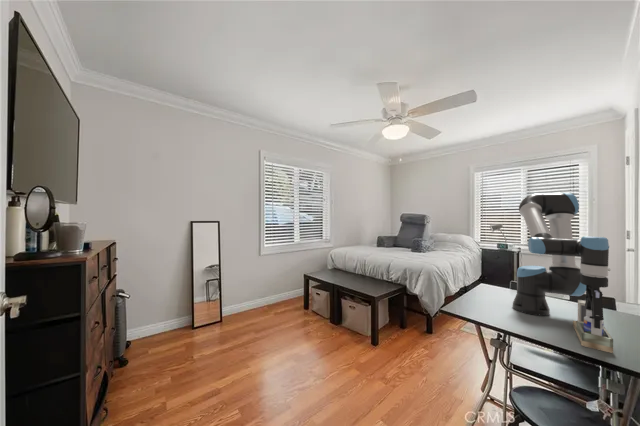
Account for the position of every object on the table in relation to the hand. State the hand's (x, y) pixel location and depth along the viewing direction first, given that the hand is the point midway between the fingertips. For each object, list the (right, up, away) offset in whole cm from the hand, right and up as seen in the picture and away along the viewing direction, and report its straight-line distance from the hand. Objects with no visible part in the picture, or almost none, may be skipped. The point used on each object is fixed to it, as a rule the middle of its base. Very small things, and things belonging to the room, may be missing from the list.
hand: (593, 330), depth 101 cm
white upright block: (+9, -3, +11) cm, 15 cm away
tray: (+3, -5, +4) cm, 7 cm away
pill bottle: (0, -3, 0) cm, 3 cm away
